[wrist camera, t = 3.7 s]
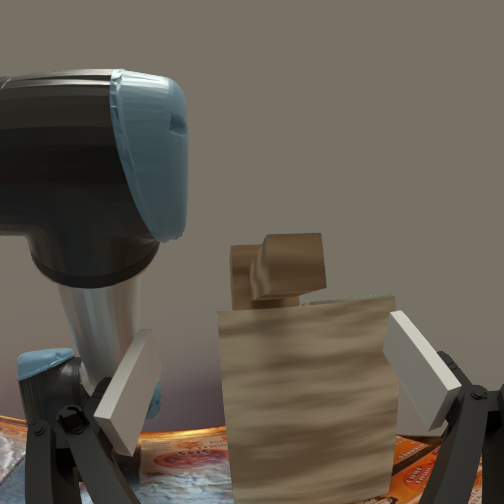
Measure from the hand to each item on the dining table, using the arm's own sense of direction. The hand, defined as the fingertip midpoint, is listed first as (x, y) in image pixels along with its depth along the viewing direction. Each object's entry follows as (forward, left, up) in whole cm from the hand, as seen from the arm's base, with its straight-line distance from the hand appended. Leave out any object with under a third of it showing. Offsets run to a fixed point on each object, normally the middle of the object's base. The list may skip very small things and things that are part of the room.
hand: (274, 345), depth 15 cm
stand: (-22, +17, -28) cm, 40 cm away
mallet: (-15, +9, +2) cm, 18 cm away
